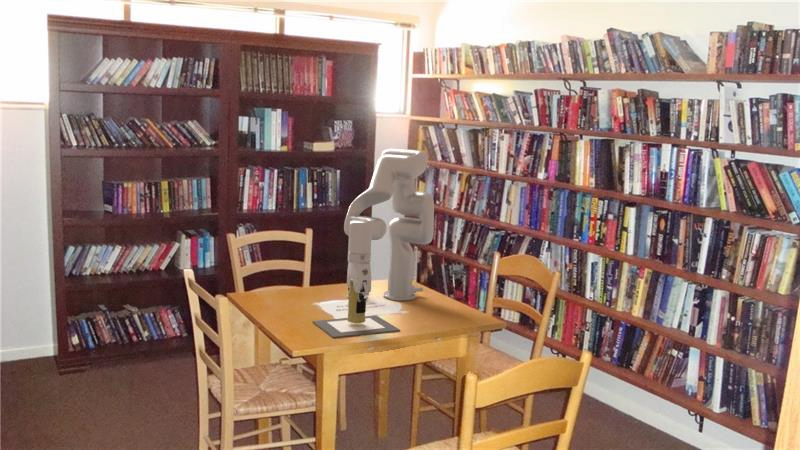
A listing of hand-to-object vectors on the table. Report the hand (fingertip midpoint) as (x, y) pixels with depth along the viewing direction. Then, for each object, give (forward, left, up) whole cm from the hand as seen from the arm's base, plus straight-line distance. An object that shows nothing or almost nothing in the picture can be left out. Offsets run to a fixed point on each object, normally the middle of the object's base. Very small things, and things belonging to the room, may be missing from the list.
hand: (356, 309), depth 245 cm
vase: (0, 0, -4) cm, 4 cm away
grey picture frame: (0, 0, -6) cm, 6 cm away
